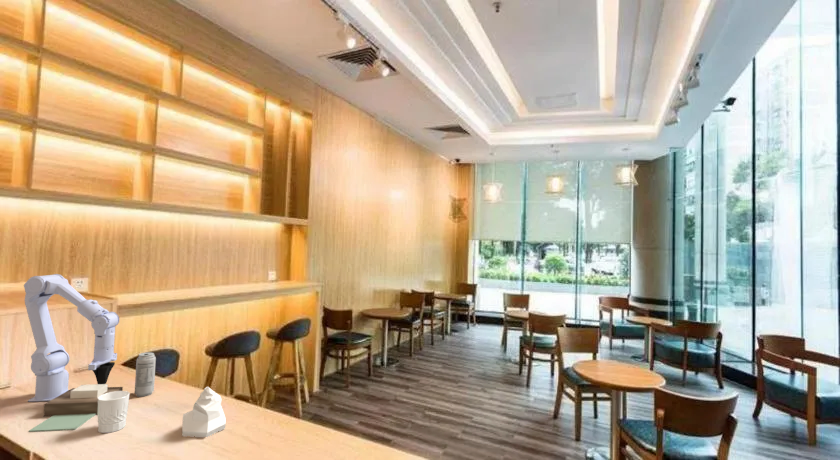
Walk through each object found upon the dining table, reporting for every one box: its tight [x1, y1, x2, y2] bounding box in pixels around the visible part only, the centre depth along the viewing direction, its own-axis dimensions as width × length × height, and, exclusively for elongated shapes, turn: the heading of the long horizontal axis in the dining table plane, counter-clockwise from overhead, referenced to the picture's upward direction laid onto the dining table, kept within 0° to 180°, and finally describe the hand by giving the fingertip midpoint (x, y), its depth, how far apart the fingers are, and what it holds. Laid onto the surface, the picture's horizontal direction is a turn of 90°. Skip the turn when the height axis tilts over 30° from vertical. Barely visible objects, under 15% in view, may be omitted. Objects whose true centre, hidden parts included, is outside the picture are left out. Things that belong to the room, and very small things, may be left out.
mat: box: [28, 413, 97, 433], centre depth 126 cm, size 11×12×1 cm
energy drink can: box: [134, 351, 157, 398], centre depth 151 cm, size 6×6×15 cm
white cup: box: [97, 390, 130, 434], centre depth 124 cm, size 8×8×10 cm
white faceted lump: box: [181, 386, 227, 438], centre depth 126 cm, size 12×15×14 cm
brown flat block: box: [43, 386, 124, 417], centre depth 139 cm, size 14×16×4 cm
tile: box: [70, 383, 109, 399], centre depth 139 cm, size 6×8×2 cm
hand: (102, 384), depth 146 cm, fingers closed
